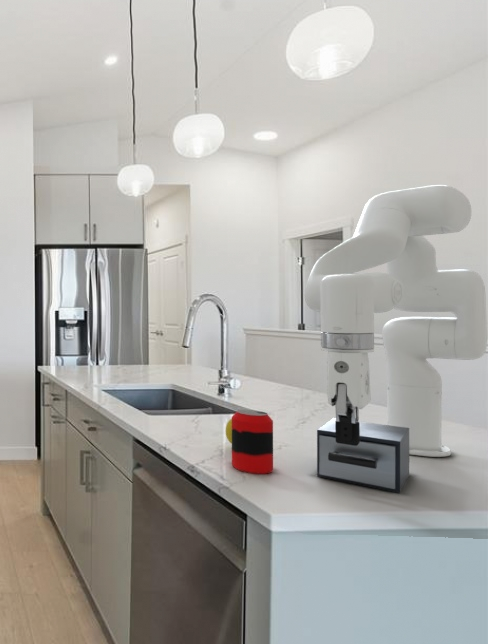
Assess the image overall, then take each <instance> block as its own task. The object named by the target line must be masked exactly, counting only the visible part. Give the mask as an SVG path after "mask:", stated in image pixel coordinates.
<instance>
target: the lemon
mask: <svg viewBox="0 0 488 644" xmlns="http://www.w3.org/2000/svg"><path fill="white" fill-rule="evenodd" d="M225 436H226V439H227V441H228V442H229V443H230V444H231V445H232V418H230V419H229V420H228V421H227V423H226V426H225Z"/></svg>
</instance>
